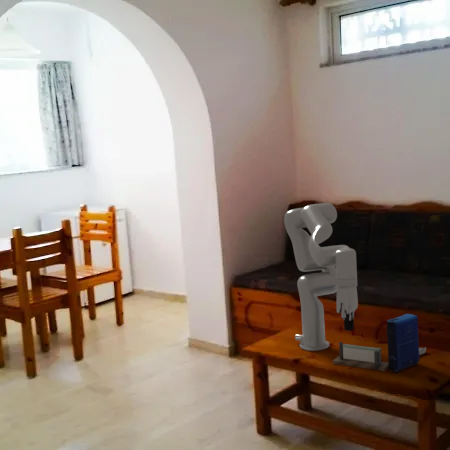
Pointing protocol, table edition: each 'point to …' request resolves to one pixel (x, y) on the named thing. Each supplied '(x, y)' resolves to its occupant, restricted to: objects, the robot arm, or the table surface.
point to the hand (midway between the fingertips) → (349, 329)
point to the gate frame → (361, 364)
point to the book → (402, 342)
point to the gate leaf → (360, 353)
